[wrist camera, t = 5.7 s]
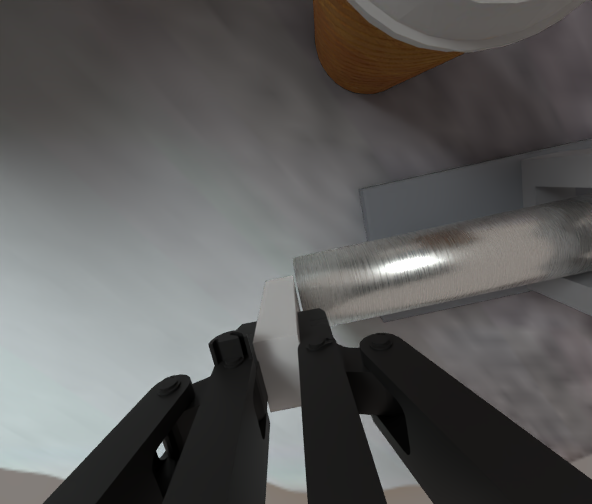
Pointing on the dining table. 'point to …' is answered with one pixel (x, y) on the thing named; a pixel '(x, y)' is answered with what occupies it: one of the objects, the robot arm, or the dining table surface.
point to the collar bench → (485, 208)
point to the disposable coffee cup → (419, 34)
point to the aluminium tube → (448, 261)
